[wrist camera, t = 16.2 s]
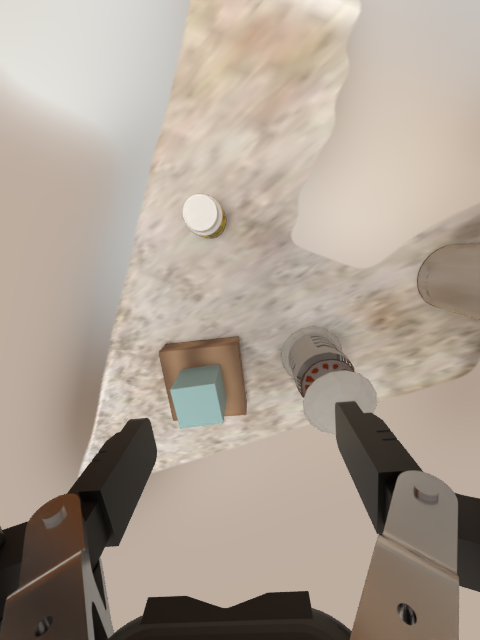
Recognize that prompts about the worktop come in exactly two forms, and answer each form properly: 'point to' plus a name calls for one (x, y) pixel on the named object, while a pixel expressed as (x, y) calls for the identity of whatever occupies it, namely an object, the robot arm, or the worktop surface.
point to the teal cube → (199, 396)
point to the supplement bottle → (204, 216)
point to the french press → (324, 376)
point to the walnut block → (206, 355)
